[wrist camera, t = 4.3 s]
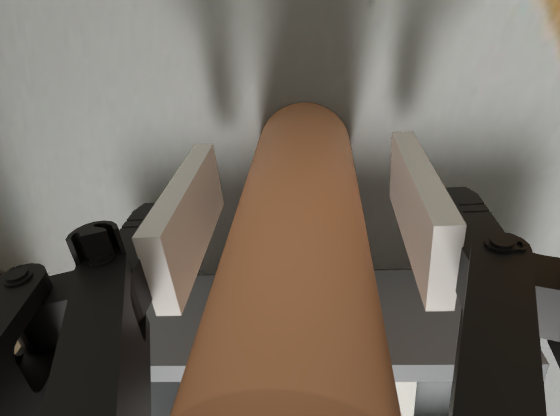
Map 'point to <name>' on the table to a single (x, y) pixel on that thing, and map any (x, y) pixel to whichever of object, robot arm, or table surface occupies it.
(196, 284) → the bin
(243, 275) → the peg
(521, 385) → the robot arm
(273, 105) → the table surface
